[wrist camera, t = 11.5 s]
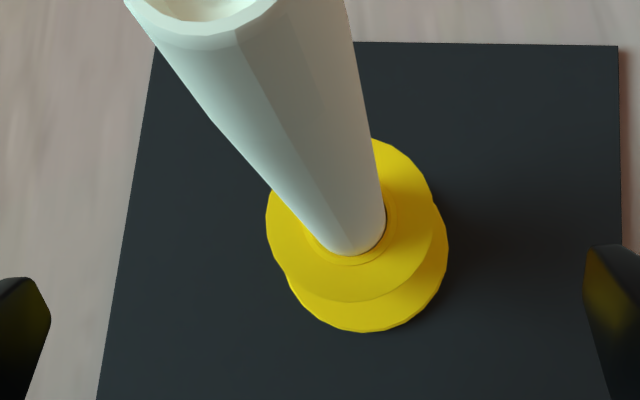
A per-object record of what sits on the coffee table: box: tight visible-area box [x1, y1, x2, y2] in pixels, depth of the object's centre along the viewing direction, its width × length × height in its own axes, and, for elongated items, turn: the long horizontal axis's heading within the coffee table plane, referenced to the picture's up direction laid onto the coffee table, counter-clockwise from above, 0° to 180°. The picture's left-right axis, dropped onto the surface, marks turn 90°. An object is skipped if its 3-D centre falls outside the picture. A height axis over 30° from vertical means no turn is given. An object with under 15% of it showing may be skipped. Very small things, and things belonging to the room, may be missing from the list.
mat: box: [96, 42, 622, 400], centre depth 18 cm, size 14×16×1 cm
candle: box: [123, 0, 449, 333], centre depth 11 cm, size 5×5×16 cm
